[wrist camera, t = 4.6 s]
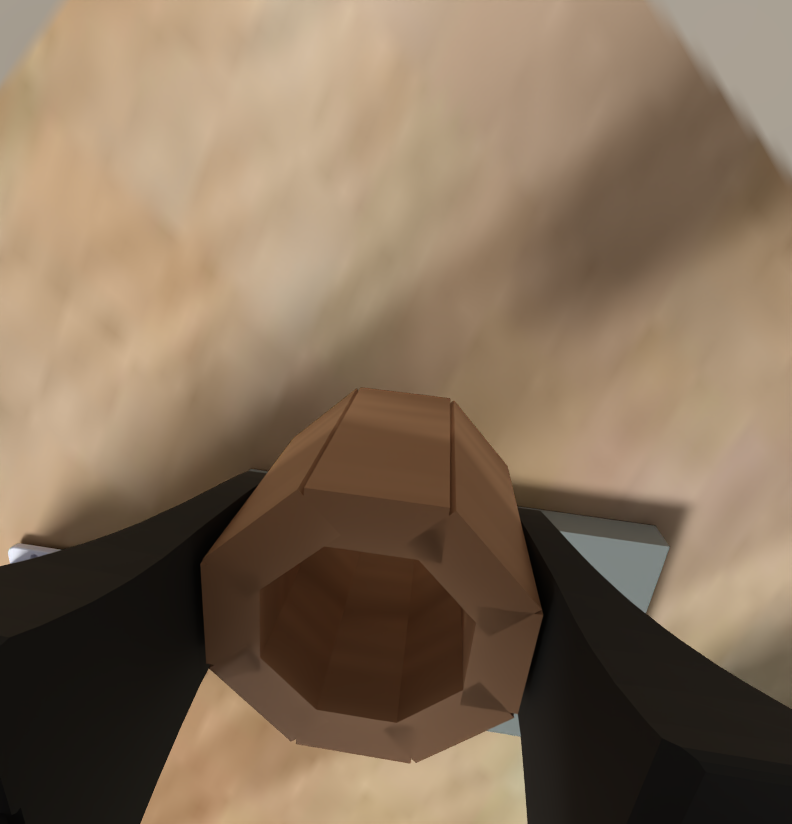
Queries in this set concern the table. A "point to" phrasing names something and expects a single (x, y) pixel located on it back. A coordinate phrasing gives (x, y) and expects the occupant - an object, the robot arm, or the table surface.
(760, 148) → the table surface
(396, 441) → the tube
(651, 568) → the post board
